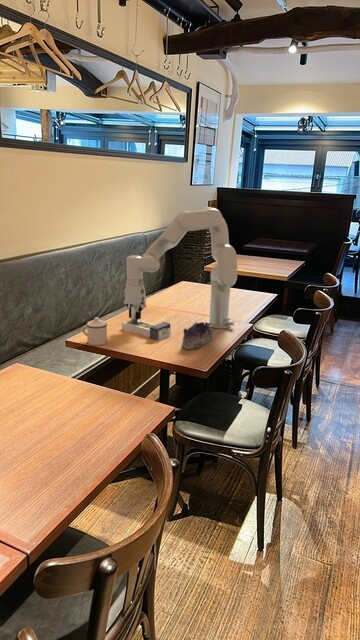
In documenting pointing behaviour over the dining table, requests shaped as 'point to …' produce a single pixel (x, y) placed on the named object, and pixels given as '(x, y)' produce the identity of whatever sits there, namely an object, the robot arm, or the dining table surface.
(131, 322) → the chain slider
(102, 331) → the teacup with lid
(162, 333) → the track
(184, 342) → the geode
